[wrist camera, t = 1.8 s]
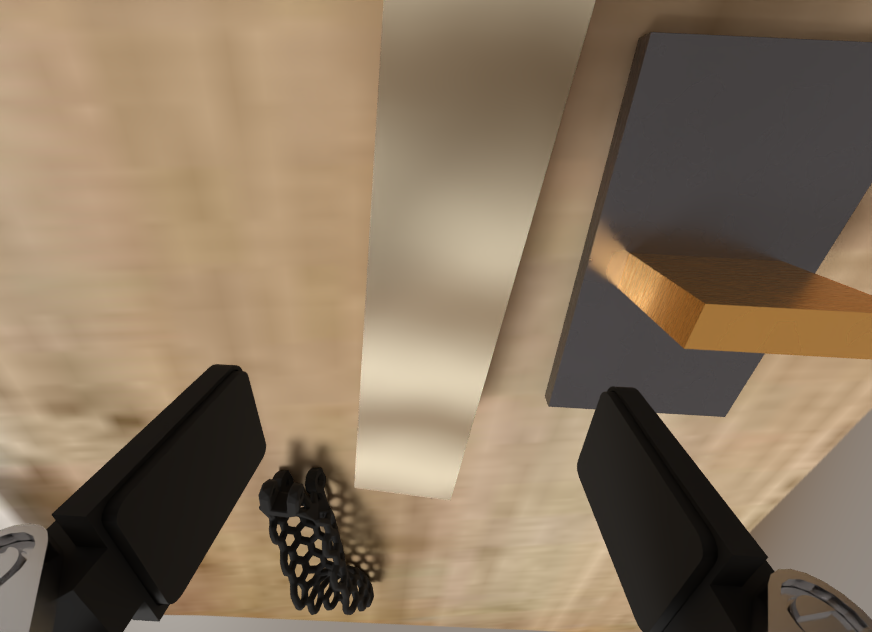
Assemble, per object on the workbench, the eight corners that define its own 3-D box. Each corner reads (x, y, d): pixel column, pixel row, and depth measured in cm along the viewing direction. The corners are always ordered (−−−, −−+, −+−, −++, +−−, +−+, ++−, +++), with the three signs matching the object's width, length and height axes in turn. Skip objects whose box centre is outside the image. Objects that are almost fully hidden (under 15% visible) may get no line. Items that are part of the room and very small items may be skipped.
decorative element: (385, 579, 38) (375, 649, 33) (342, 582, 39) (326, 651, 33) (317, 442, 28) (287, 513, 22) (260, 448, 28) (218, 519, 23)
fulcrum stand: (638, 38, 14) (782, -35, 8) (925, 51, 14) (1293, -12, 8) (544, 396, 24) (577, 487, 18) (714, 406, 24) (807, 501, 18)
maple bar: (419, -41, 14) (394, -186, 7) (552, -15, 14) (634, -135, 8) (377, 400, 25) (354, 487, 19) (450, 411, 25) (450, 500, 19)
